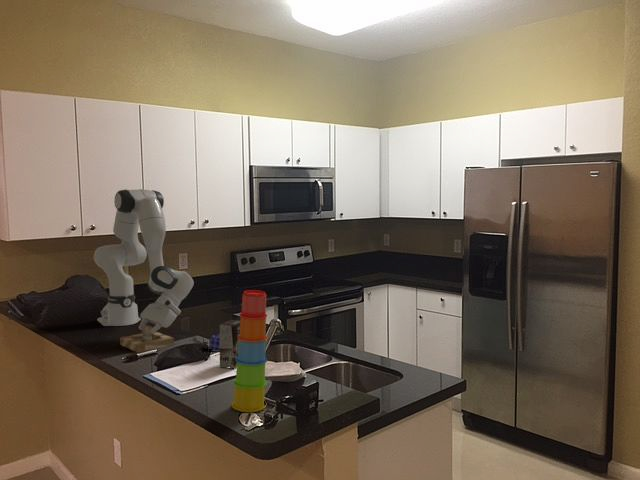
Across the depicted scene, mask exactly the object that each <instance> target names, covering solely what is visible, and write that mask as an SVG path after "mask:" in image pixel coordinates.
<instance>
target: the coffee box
mask: <svg viewBox="0 0 640 480" xmlns="http://www.w3.org/2000/svg"><path fill="white" fill-rule="evenodd" d="M240 321H241V319H240V320H239V319H230V320H227V321H225V322H223V323H220V324H219V335H220V350H219V367H220V366H221V367H230V368H235V369H237V368H236V367H237V362H236V358H237V357H238V347H239V339H238V336H239V335H240ZM221 367H220V368H221Z"/></svg>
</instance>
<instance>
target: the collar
mask: <svg viewBox="0 0 640 480" xmlns="http://www.w3.org/2000/svg"><path fill="white" fill-rule="evenodd" d="M119 343H120V346H122V347H124V348H127V349H129V350H131V351H133V352H136V353H138V354H139V353H142V352H143V353H144V352H148V351H153V350H156V349H157V350H159V349H162V348H166V347H167V348H168V347H171V346H175V338H174V337H172V336H169V335H168V334H167V335H166V334H163V333H161V332H159V331H156V332H155V333H154V334H152V340H151V341H146V342H142V333H137V334H133V335H129V336H122V337H120V339H119Z"/></svg>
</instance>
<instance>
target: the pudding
mask: <svg viewBox="0 0 640 480" xmlns="http://www.w3.org/2000/svg"><path fill="white" fill-rule="evenodd" d="M207 345H209V348H210V349H212V351H213V352H218V351H220V334H213V335H211V336H210V339H209V344H207ZM209 348H208V349H209Z"/></svg>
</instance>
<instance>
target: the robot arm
mask: <svg viewBox="0 0 640 480" xmlns="http://www.w3.org/2000/svg"><path fill="white" fill-rule="evenodd" d="M164 203H165V200H164V197H163V194H162V193H161V192H160V191H157V190H148V189H141V188H140V189H121V190H118V191H117V192H116V194H115V195H114V208H115V209H116V213H115V218H114V223H113V228H112V231H113V234H114V236H115V237H117V238H118V239H120V240H121V243H120V244H119V243H118V244H116V243H115V244H106V245H103V246H99V247H97V248H96V249H95V250H94V253H93V261H94V262H95V264H96V265H97V267H99V268H101V270H103V272H104V273H105V274H106V276H107V279H108V285H109V286H108V289H109V295H108V297H107V299H108V300H107V304H106V305H105V306H104V307H103V308H102V310H100V315H101V317H98V318H97V322H98V323H100V324H101V325H102V326H104V327H110V326H111V327H119V326H120V327H121V326H123V327H124V326H130V325H134V324H136V323H138V322H140V321H141V322H140V324H139V326H138V330H141V331H142V326H144V325H147V324H148V323H151V324H155V325H154V326H152V328H151V329H150V330H149V332H150V333H151V334H154V333H155V332H158V330H160V329H161V328H168V327H170V326H171V325H172V324H173V322H174V321H175V320H176V318H177V317H178V316H179V315H181V312H182V310H180V308H179V306H180V304H181V303H182V301H183V300H184V299H186V297H188V295H189V293H190V292H191V290H192V288H193V287H194V284H195V283H194V279H193V277H192V276H191V274H189V273H188V272H187V271H184V270H176V269H172V268H169V267H168V266H165V265H164V258H163V244H164V241H165V239H166V238H165V237H166V231H167V230H166V227H167V226H166V219H165V215H164V211H163V207H164ZM139 230H140V233H141V234H140V235H141V236H142V239H143V242H144V245H145V246H144V245H143V244H142V243H141V242H140V240H139V236H138V234H139ZM146 259H148V267H149V276H148V277H147V278H148V279H147V288H148V289H149V291H150V292H151V293H153V294H155V295H159V297H158V298H157V299H156V301H155V302H153V303H150V304H148V305H147V306H146V307H145V308H144V310H142V312H141V313H140V315H139V312H138V310H139V309H138V304H137V303H135V299H136V296H135V293H134V292H135V291H134V279H133V277H132V276H131V275H130V274H128V273H125V272H124V268H123V267H130V266H137V265H139V264H143V263H144V262H145V261H146Z"/></svg>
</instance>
